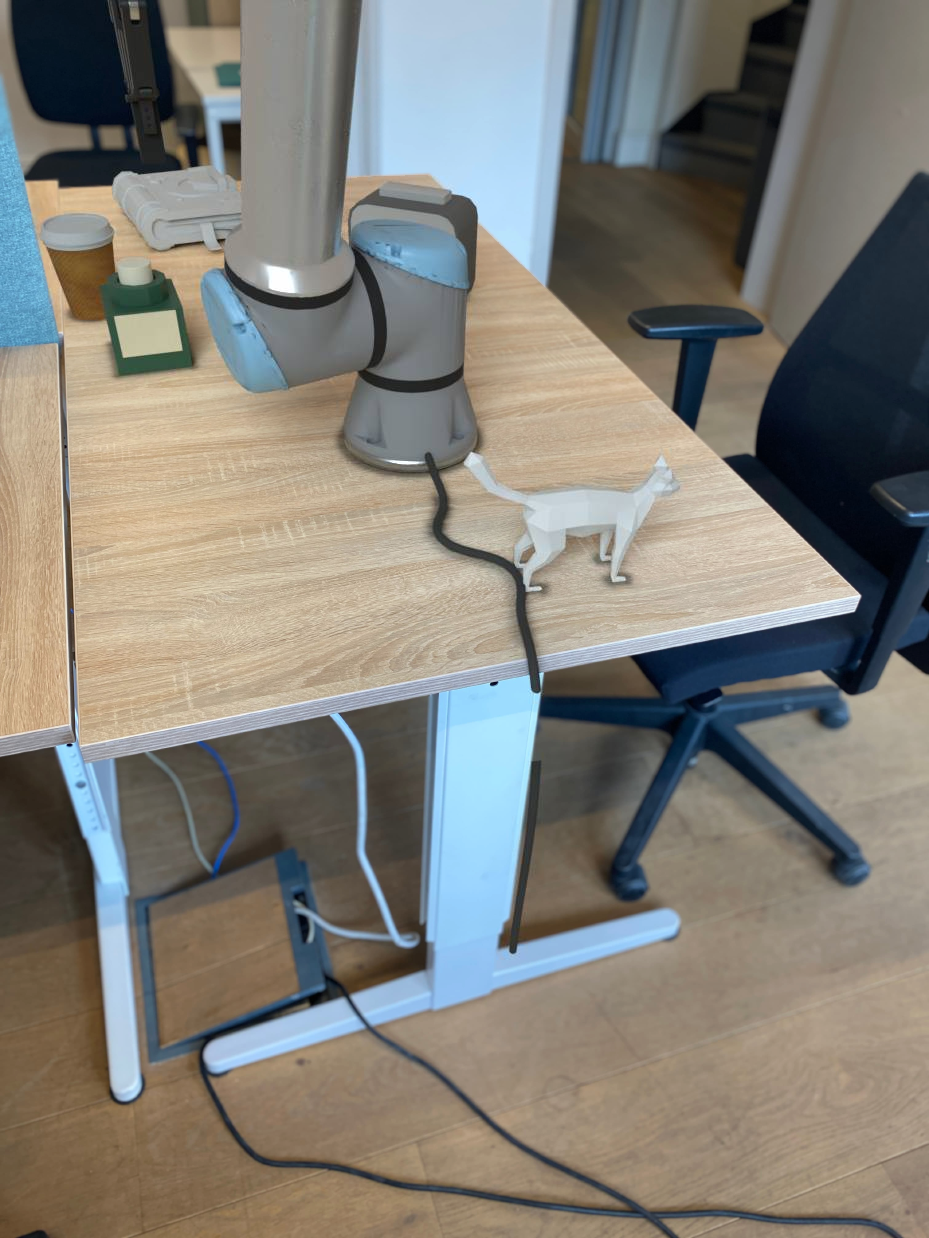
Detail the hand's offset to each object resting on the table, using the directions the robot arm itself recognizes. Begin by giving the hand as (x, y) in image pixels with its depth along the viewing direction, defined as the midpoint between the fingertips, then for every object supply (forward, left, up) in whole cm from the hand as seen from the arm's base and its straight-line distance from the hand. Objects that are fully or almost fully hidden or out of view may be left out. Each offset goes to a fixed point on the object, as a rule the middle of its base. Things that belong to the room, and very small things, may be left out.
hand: (154, 162), depth 106 cm
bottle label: (-8, +3, -20) cm, 22 cm away
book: (+47, +2, -23) cm, 52 cm away
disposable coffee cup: (+12, +13, -23) cm, 29 cm away
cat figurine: (-55, -38, -23) cm, 71 cm away
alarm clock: (+14, -33, -23) cm, 42 cm away
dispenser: (-3, +4, -22) cm, 23 cm away
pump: (-3, +4, -13) cm, 14 cm away
